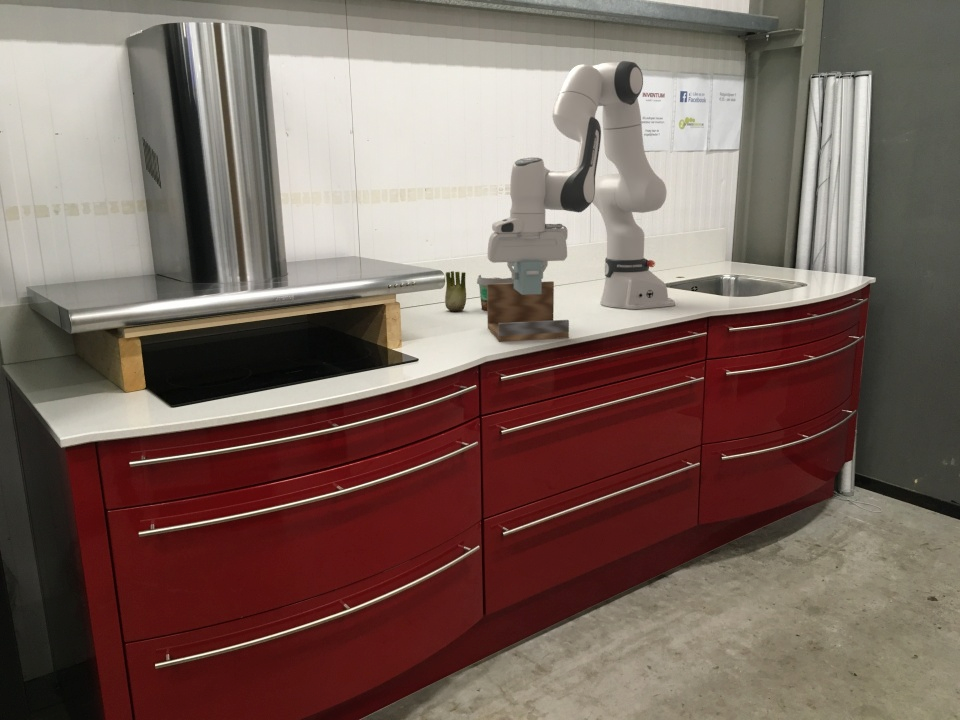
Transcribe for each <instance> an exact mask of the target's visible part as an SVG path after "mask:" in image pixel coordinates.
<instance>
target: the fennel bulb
mask: <svg viewBox="0 0 960 720" xmlns="http://www.w3.org/2000/svg"><path fill="white" fill-rule="evenodd" d="M460 275H461V277H460ZM466 275H467V274H466V272H465V271H462V272H461V273H460V271H454V270H452V271H448V272H447V271H446V272H445V279H446V288H445V295H444V296H445V297H444V300H445V301H444V302H445V307H446V309H447V310H448V311H451V312H461V311H464V309H465V306H466V304H467V288H466Z"/></svg>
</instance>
